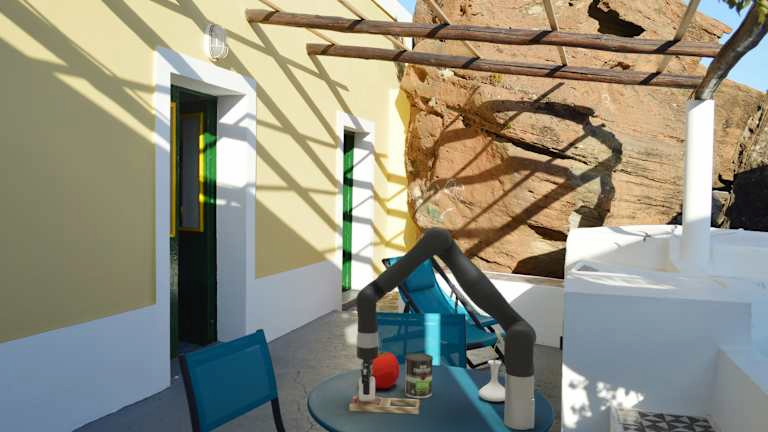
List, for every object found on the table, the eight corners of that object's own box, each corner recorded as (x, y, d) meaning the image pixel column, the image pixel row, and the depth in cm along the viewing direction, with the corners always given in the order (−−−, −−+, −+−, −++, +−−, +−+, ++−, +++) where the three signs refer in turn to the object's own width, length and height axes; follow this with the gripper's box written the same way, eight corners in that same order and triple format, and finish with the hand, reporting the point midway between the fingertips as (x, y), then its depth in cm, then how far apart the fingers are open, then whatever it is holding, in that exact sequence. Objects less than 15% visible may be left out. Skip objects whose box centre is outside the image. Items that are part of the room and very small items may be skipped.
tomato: (390, 379, 244) (391, 345, 243) (406, 390, 232) (406, 354, 231) (354, 384, 238) (355, 350, 237) (368, 396, 225) (368, 359, 224)
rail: (419, 405, 216) (419, 398, 216) (418, 414, 208) (418, 407, 208) (353, 401, 219) (353, 395, 219) (349, 410, 210) (349, 404, 210)
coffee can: (436, 397, 225) (436, 359, 224) (409, 399, 222) (410, 361, 221) (426, 388, 235) (427, 352, 234) (401, 390, 232) (401, 353, 231)
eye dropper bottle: (373, 402, 211) (373, 368, 211) (357, 401, 212) (357, 367, 212) (376, 398, 215) (376, 364, 215) (360, 396, 217) (361, 363, 216)
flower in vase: (507, 406, 216) (509, 336, 215) (475, 402, 220) (477, 333, 219) (512, 394, 229) (513, 328, 227) (481, 390, 232) (483, 325, 231)
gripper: (375, 350, 205) (375, 399, 206) (380, 339, 220) (379, 386, 220) (353, 349, 206) (353, 398, 207) (359, 338, 220) (359, 385, 221)
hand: (367, 391), depth 214 cm, fingers closed on eye dropper bottle, 4 cm apart
